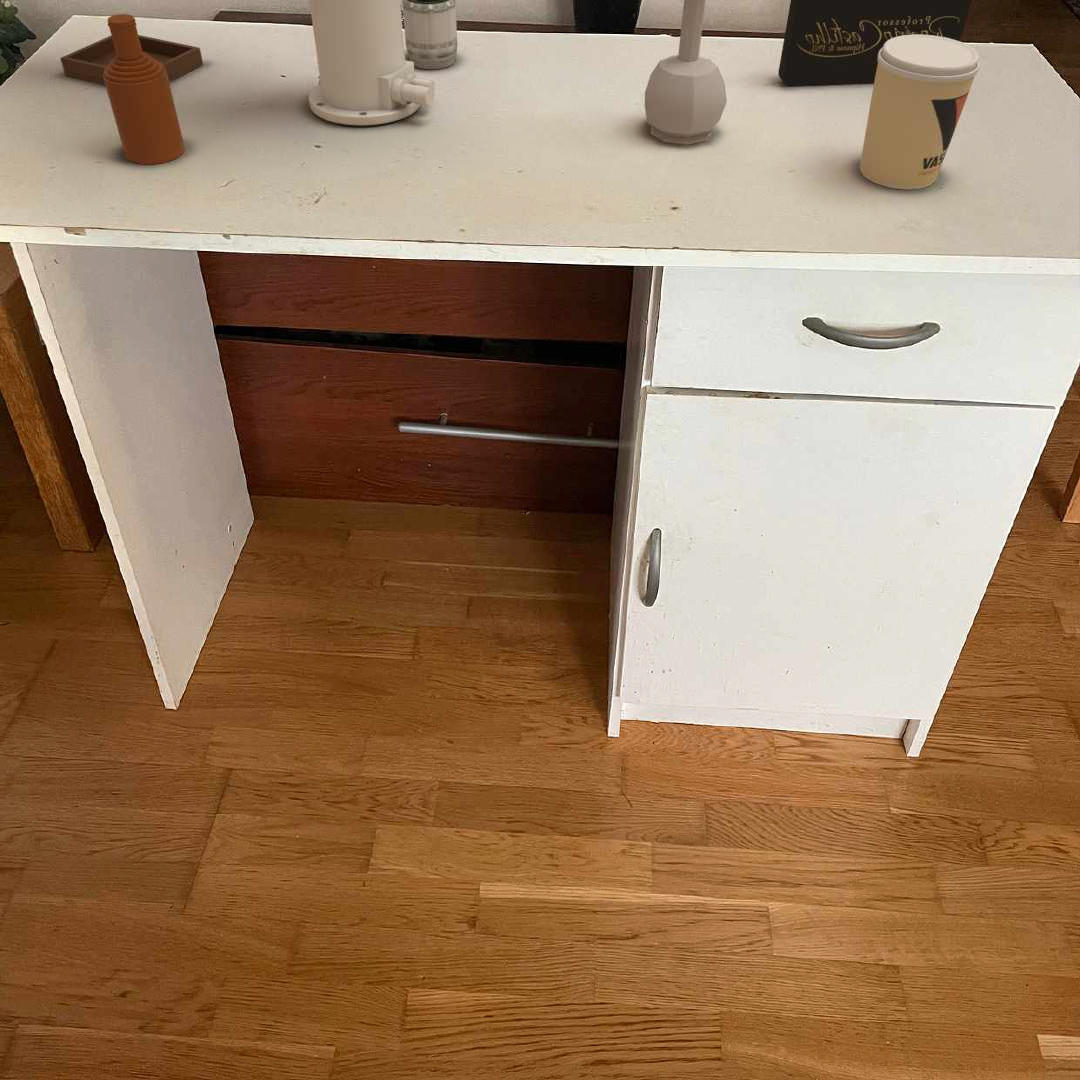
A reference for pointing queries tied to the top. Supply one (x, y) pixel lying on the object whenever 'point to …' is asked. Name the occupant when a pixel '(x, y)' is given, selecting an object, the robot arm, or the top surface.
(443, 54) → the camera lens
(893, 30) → the nameplate
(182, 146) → the bottle
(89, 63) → the tray
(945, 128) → the coffee cup
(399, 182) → the top surface
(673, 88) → the potion bottle
